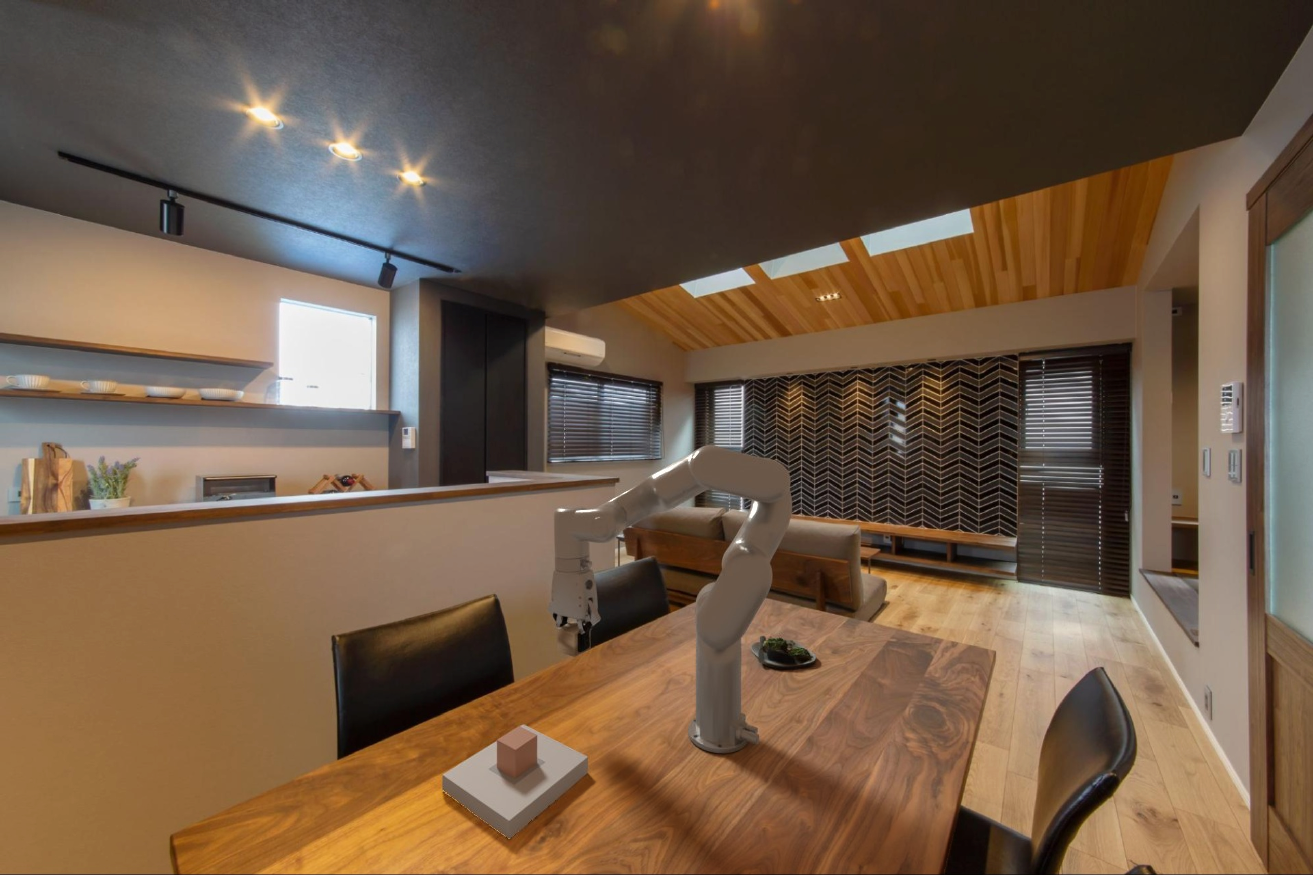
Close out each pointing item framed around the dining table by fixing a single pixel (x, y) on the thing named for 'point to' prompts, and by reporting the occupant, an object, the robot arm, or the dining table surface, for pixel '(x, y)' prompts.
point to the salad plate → (782, 654)
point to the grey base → (514, 784)
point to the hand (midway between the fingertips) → (574, 646)
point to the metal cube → (569, 639)
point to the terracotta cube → (516, 751)
